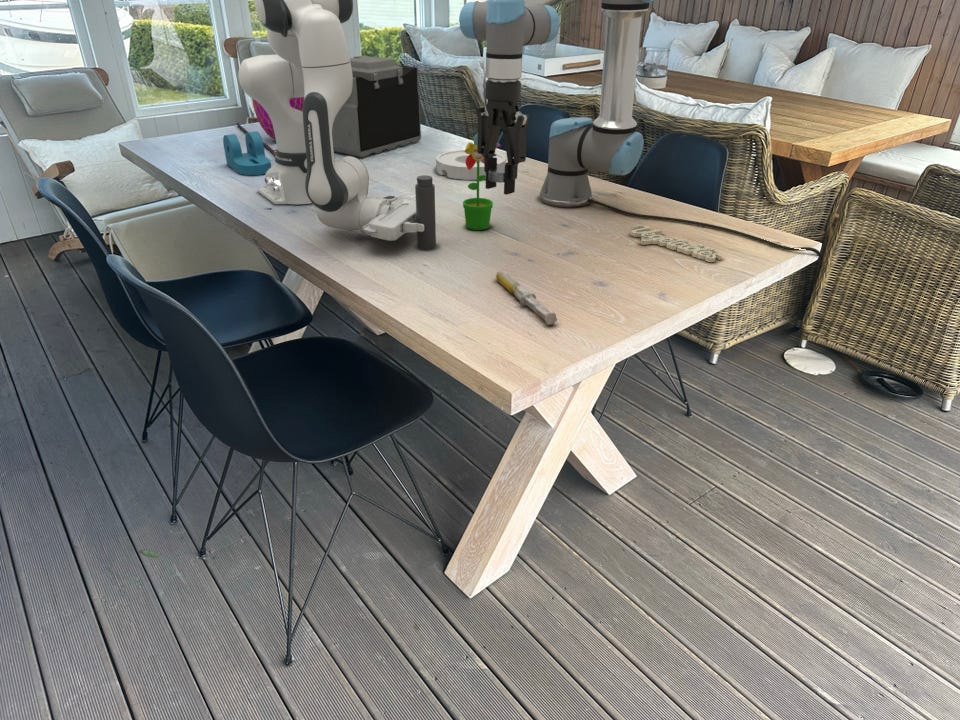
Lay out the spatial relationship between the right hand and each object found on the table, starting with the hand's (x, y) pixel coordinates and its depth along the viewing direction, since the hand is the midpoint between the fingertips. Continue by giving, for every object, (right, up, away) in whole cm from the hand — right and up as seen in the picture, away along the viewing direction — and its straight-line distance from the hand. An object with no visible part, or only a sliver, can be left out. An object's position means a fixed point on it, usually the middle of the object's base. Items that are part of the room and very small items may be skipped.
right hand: (499, 190), depth 154 cm
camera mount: (-81, +26, +75) cm, 113 cm away
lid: (0, +4, -2) cm, 4 cm away
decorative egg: (-80, +47, +111) cm, 144 cm away
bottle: (-18, -10, +16) cm, 26 cm away
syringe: (+5, -26, -11) cm, 28 cm away
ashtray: (-8, +25, +76) cm, 81 cm away
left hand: (-17, -5, +12) cm, 21 cm away
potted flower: (-5, -3, +28) cm, 29 cm away
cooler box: (-45, +42, +104) cm, 121 cm away
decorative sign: (+43, -10, +18) cm, 48 cm away
